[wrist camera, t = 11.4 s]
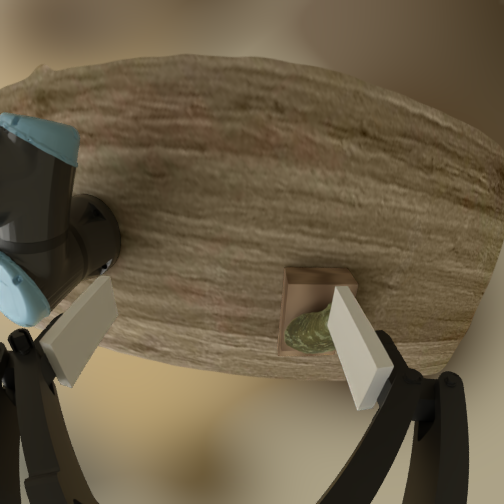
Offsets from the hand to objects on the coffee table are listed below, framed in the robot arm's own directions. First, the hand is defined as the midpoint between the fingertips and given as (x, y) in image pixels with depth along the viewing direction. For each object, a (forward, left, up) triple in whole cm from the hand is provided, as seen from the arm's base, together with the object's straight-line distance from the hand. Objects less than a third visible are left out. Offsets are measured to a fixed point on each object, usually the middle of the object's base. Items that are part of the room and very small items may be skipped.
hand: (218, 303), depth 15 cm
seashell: (+13, -18, -23) cm, 32 cm away
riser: (+13, -20, -29) cm, 37 cm away
